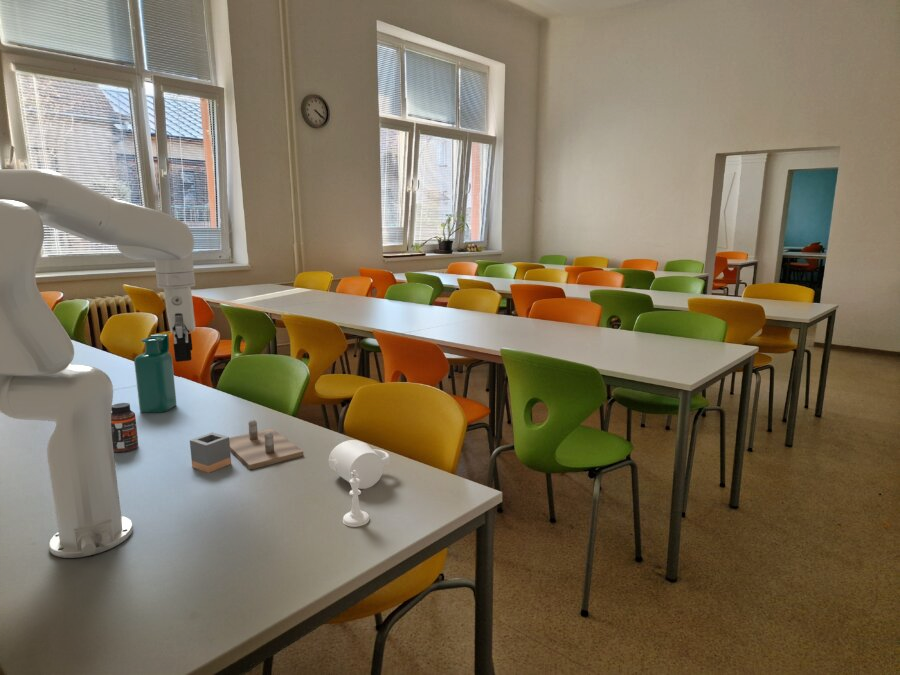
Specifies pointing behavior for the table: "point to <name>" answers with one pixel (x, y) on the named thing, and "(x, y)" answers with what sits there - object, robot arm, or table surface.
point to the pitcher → (155, 375)
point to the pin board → (262, 447)
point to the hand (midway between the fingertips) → (184, 355)
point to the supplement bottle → (123, 428)
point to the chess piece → (355, 506)
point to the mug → (358, 462)
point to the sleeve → (210, 452)
